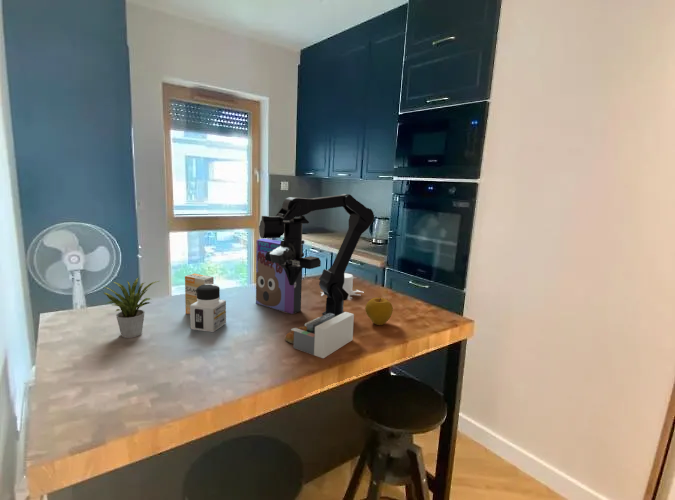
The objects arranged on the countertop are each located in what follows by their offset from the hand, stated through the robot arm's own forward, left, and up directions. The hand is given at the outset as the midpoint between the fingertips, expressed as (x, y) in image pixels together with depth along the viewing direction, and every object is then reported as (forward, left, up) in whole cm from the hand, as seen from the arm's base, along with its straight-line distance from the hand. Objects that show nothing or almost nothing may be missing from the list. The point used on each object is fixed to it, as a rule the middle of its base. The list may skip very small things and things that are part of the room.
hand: (291, 285), depth 121 cm
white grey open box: (+8, +18, -12) cm, 23 cm away
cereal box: (-7, -12, -12) cm, 19 cm away
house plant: (+36, -28, -12) cm, 47 cm away
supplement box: (+15, -27, -12) cm, 33 cm away
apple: (-16, +24, -12) cm, 31 cm away
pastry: (+9, +13, -12) cm, 20 cm away
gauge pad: (+9, +18, -12) cm, 23 cm away
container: (+20, -16, -12) cm, 28 cm away
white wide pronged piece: (-38, -4, -13) cm, 40 cm away
